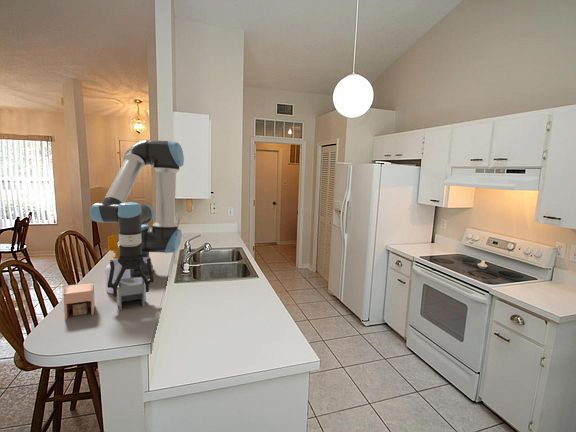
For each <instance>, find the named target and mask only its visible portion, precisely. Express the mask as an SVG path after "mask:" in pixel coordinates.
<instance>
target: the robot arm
mask: <svg viewBox="0 0 576 432" xmlns="http://www.w3.org/2000/svg"><path fill="white" fill-rule="evenodd" d="M184 162H185V157H184V151H183V147H182V145H181V144H180V143H179V142H177V141H171V140H155V139H154V140H153V139H145V140H144V139H142V140H140V141H138V142H136V143H135V144H133V145H132V146H131V147H130V148H128V149H127V150H126V152H125V153H124V154H123V157H122V164H121V166H120V168H119V170H118V172H117V173H116V175H115V177H114V179H113V180H112V182H111V183H112V184H111V185H110V186H109V189H108V191H107V192H106V195H105V197H104V198H103V200H102V202H95V203H94V204H92V205H91V206H90V209H89V216H90V218H91V220H92V221H94V223H95V222H96V223H103V224H106V223H109V224H110V223H111V224H113V223H114V224H118V234H119V235H118V244H119V246H118V247H119V258H118V259H117V260H113V259H110V261H109V264H110V266H111V268H110V274H109V279H108V286H107V287H108V288H113V294H112V296H113V297H116V305H117V307H118V306H119V305H120V304H119V286H118V284H119V282H120V280H121V278H122V276H123V274H124V272H125V270H127V269H130V278H135V277H142V279H143V281H144V303H145V302H147V293H149V291H150V284H151V283H154V282H155V280H154V279H155V278H154V276H153V275H154V274H153V272H154V266H153V265H154V264H153V263H152V259H151V257H150V253H165V254H169V253H175V252H177V251H178V249H179V247H180V244H181V242H182V230H181V229H179V226H178V223H176V222H175V220H176V189H177V188H176V185H177V183H176V182H177V173H178V172H179V171H180V167H183V166H184ZM147 165H150V166H151V165H152V166H153V169H154V171H156V192H155V193H156V194H155V195H156V197H155V198H156V199H155V200H156V201H155V203H156V204H155V206H156V207H155V209H154V208H153V207H152V206H151V205H149V204H146V203H145V204H144V203H143V204H141V203H139V202H130V201H129V202H127V199H128V197H129V195H130V193H131V191H132V188H133V187H134V184H135V182H136V180H137V178H138V176H139V173H140V172H141V170H143V169H145V166H147ZM154 218H155V222H154V223H152V226H151V227H150V225H149V224H147V223H149V222H151V221H152V220H153V219H154ZM117 263H119V264H120V265H121V266H122V267H121V270H120V272H119V274H118V276H117V278H116V280H115V282H114V284H113V283H112V280H113V275H114V269H115V266H116V265H117ZM146 275H148V278H147V276H146Z"/></svg>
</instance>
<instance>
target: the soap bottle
mask: <svg viewBox="0 0 576 432" xmlns="http://www.w3.org/2000/svg"><path fill="white" fill-rule="evenodd" d="M118 237H119V233H115V234H112V235H108V237H107V249H108V250H109V251H111V252H113V253H114V255H113V256H112V260H117V259H118V258H119V246H118V244H119V243H118ZM121 267H122V266H121V265H120V264H119V263H117V265H116V266H115V269H114V275H113V280H112V283H113V284H114V282H115V280H116V278H117V276H118V274H119V272H120V270H121ZM110 268H111V266H110V263H109V264H107V265H106V267H105V269H104V270H105V271H104V272H105V291H106V293H108V294H110V295H111V294H112V295H113V288H108V287H107V286H108V279H109V274H110ZM126 278H131V277H130V269H127V270H125V272H124V274H123V276H122V278H121V279H126ZM118 286H119V284H118Z"/></svg>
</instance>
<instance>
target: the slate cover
mask: <svg viewBox="0 0 576 432" xmlns="http://www.w3.org/2000/svg"><path fill="white" fill-rule="evenodd" d="M144 283H145V282H144V280H143V279H142V277H141V276H136V277H130V278H126V279H121V280H120V282H119V304H120V305H118V306H119V311H122V309H123V308H122V306H123V305H122V303H123V302H130V301H136V300H141V301H140V302H141V305H142V308H143V307H145V302H144Z"/></svg>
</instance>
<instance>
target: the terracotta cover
mask: <svg viewBox="0 0 576 432" xmlns="http://www.w3.org/2000/svg"><path fill="white" fill-rule="evenodd" d="M94 283H95V282H87V283H76V284H68V285H66V286H65V290H64V291H63V310H64V320H68V317H69V313H70V310H72V311H73V303H78V302H85V301H87V306H88V308H90V309H91V316H94V314H95V308H96V307H95V306H96V305H95V284H94Z"/></svg>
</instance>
